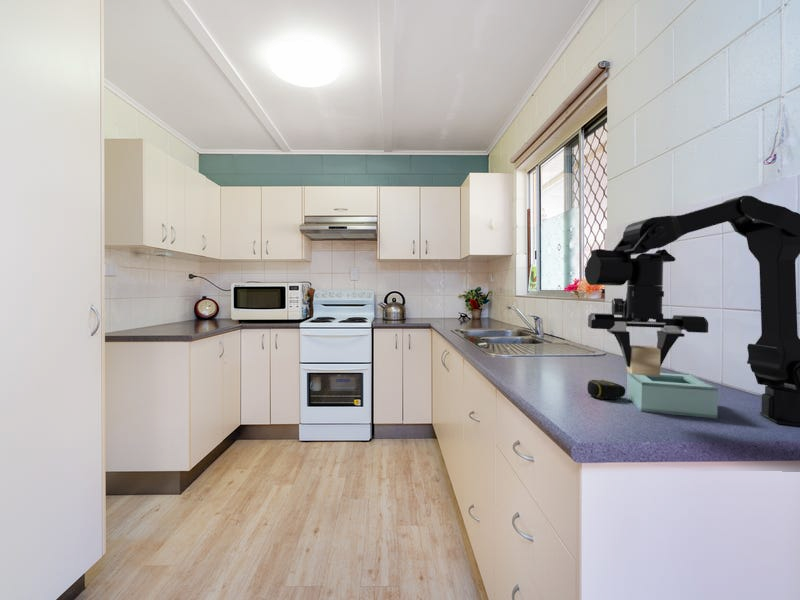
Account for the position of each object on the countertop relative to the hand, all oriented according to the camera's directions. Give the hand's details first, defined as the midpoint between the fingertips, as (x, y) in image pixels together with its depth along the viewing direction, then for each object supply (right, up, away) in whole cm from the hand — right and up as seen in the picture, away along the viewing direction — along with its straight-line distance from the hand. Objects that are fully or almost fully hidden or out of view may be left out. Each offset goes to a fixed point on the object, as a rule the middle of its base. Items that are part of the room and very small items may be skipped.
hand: (642, 367), depth 74 cm
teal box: (+12, -10, +10) cm, 19 cm away
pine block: (0, -1, 0) cm, 1 cm away
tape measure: (+2, -10, +18) cm, 21 cm away
